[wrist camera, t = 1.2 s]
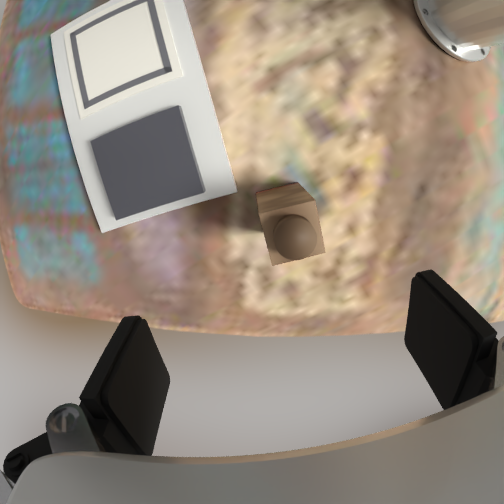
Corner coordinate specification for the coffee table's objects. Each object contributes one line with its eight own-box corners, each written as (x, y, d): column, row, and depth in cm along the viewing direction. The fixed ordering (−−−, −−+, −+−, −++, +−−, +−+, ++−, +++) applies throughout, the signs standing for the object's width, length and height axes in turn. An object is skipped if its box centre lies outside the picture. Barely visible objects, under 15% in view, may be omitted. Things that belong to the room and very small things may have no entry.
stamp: (298, 182, 31) (319, 204, 22) (306, 222, 32) (329, 259, 23) (255, 192, 31) (259, 219, 22) (266, 232, 33) (273, 274, 24)
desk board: (177, -22, 22) (173, -30, 19) (237, 190, 31) (236, 194, 29) (54, 36, 23) (45, 32, 21) (105, 230, 32) (97, 236, 30)
